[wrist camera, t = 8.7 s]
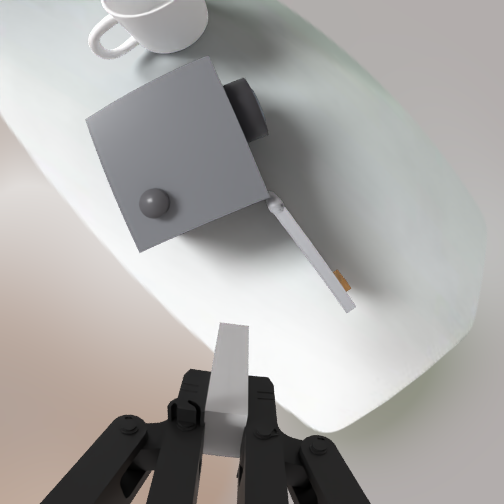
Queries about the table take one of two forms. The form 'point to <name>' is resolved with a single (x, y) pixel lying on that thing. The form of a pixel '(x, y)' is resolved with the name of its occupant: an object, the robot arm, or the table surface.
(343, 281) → the side door
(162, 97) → the camera body
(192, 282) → the table surface
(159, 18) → the cup
